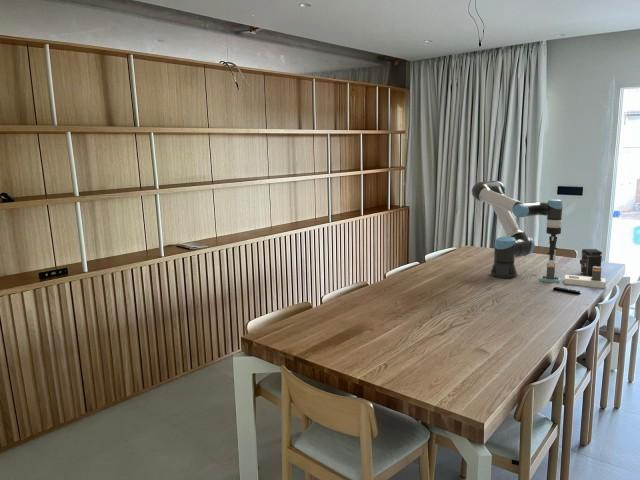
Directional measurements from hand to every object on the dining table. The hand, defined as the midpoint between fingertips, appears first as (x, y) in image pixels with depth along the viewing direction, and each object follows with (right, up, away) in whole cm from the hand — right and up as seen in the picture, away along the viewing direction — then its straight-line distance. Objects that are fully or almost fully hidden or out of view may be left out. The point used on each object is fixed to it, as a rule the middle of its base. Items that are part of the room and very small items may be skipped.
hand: (551, 263), depth 271 cm
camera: (+30, -8, +15) cm, 35 cm away
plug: (0, -10, +2) cm, 10 cm away
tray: (0, -11, +2) cm, 11 cm away
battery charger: (+15, -12, -6) cm, 20 cm away
